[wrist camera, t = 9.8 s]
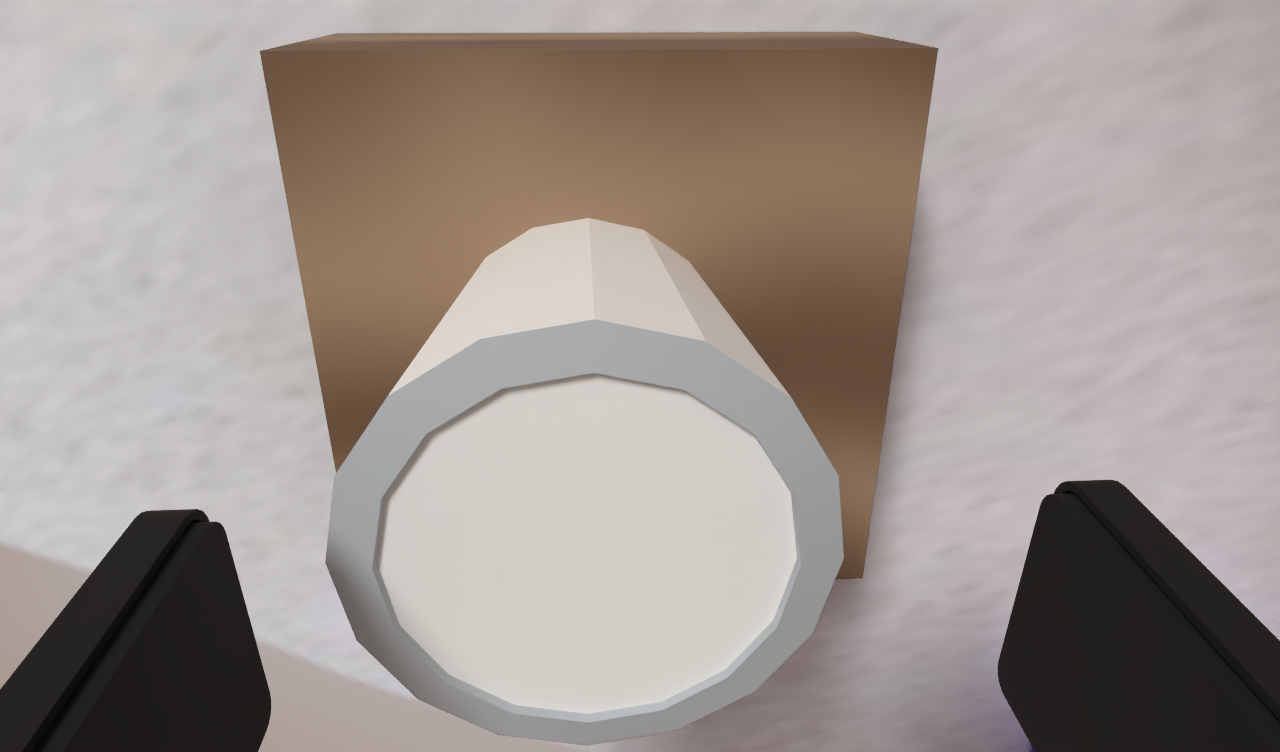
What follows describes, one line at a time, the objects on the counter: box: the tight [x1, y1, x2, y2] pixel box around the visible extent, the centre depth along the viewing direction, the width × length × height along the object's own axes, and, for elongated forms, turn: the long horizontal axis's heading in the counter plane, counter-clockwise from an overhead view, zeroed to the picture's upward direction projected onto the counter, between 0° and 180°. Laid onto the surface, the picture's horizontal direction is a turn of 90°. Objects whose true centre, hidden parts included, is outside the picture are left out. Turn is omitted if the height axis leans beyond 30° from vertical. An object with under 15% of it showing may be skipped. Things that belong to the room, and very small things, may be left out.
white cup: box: [325, 218, 844, 746], centre depth 14 cm, size 7×7×7 cm
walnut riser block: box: [260, 32, 938, 579], centre depth 20 cm, size 12×12×5 cm
